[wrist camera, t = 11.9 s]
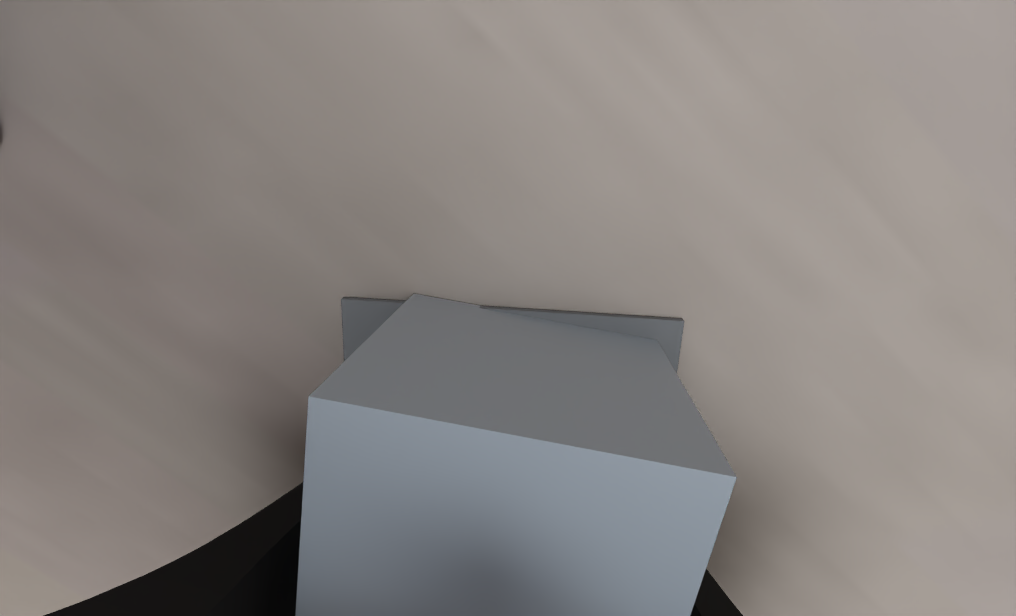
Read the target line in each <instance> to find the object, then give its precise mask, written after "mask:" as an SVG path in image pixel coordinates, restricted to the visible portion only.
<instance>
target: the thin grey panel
mask: <svg viewBox="0 0 1016 616" xmlns="http://www.w3.org/2000/svg"><path fill="white" fill-rule="evenodd" d="M404 302H405V301H400V300H385V299H369V298H354V297H343V298H342V299H341V306H342V327H343V349H344V361H345V360H346V359H347V358H348V357H349V356H350V355H351V354H352V353H353V352H354V351H355V350H356V349H357V348H358V347H359V346H361V345H362V344H363V343H364V342H365V341H366V340H367V339H368V338H369V337H370V336H371V335H372V334H373V333H374V332H375V331H376V330H377V329H378V328H379V327H380V326H381V325H382V324H383V323H384V322H385V321H386V320H387V319H388V318H389V317H390V316H391V315H392V314H393V313H394V312H395V311H396V310H397V309H398V308H399V307H400V306H401V305H402V304H403V303H404ZM479 308H482V309H488V310H493V311H499V312H504V313H510V314H515V315H521V316H526V317H532V318H537V319H543V320H548V321H554V322H559V323H565V324H570V325H576V326H581V327H587V328H592V329H598V330H603V331H609V332H614V333H620V334H625V335H631V336H636V337H642V338H647V339H653V340H657V341H658V342H659V344H660V346H661V348H662V349H663V351H664V353H665V354H666V356H667V358H668V360H669V361H670V363H671V365H672V366H673V368H674V370H675V372H676V373H677V368H678V361H679V354H680V347H681V341H682V334H683V327H684V320H683V319H681V318H665V317H650V316H634V315H619V314H603V313H588V312H572V311H556V310H541V309H525V308H510V307H494V306H480V307H479Z"/></svg>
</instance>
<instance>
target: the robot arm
mask: <svg viewBox="0 0 1016 616" xmlns="http://www.w3.org/2000/svg"><path fill="white" fill-rule="evenodd" d="M302 498H303V483H301V484H300V485H298V486H297V487H295V488H294V489H292V490H291V491H289V492H288V493H286V494H285V495H283V496H282V497H281V498H279V499H278V500H276V501H275V502H273V503H272V504H270V505H269V506H267V507H265V508H264V509H262V510H261V511H259V512H258V513H256V514H255V515H253V516H252V517H250V518H249V519H247V520H245V521H244V522H242V523H241V524H239V525H237V526H236V527H234V528H232V529H231V530H229V531H227V532H225V533H224V534H222V535H220V536H219V537H217V538H215V539H214V540H212V541H210V542H209V543H207V544H205V545H203V546H201V547H200V548H198V549H196V550H194V551H192V552H190V553H188V554H187V555H185V556H183V557H181V558H179V559H177V560H175V561H173V562H171V563H169V564H167V565H165V566H163V567H161V568H158V569H156V570H154V571H152V572H150V573H148V574H146V575H144V576H142V577H139V578H137V579H134V580H132V581H130V582H127V583H125V584H123V585H120V586H118V587H116V588H113V589H111V590H109V591H106V592H104V593H101V594H99V595H97V596H94V597H92V598H90V599H87V600H85V601H82V602H79V603H77V604H74V605H71V606H69V607H66V608H63V609H61V610H58V611H55V612H53V613H50V614H47V615H44V616H295V615H296V598H297V581H298V565H299V548H300V531H301V515H302ZM690 616H743V615H742V614H741V613H740V611H739V610H738V609H737V608H736V606H735V605H734V604H733V603H732V601H731V600H730V599H729V598H728V596H727V595H726V594H725V593H724V591H723V590H722V589H721V588H720V586H719V585H718V584H717V582H716V581H715V580H714V578H713V577H712V576H711V575H710V573H709V572H708V571H707V569H706V570H705V573H704V576H703V579H702V582H701V585H700V588H699V591H698V594H697V597H696V600H695V603H694V606H693V609H692V612H691V615H690Z"/></svg>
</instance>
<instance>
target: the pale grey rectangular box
mask: <svg viewBox="0 0 1016 616" xmlns="http://www.w3.org/2000/svg"><path fill="white" fill-rule="evenodd" d="M479 307H480V305H474V304H469V303H463V302H458V301H452V300H447V299H441V298H436V297H430V296H425V295H419V294H413V295H412V296H411V297H410V298H409V299H408V300H406V301H405V302H404V303H403V304H402V305H401V306H400V307H399V308H398V309H397V310H396V311H395V312H394V313H393V314H392V315H391V316H390V317H389V318H388V319H387V320H386V321H385V322H384V323H383V324H382V325H381V326H380V327H379V328H378V329H377V330H376V331H375V332H374V333H373V334H372V335H371V336H370V337H369V338H368V339H367V340H366V341H365V342H364V343H363V344H362V345H361V346H359V347H358V348H357V349H356V350H355V351H354V352H353V353H352V354H351V355H350V356H349V357H348V358H347V359H346V360H345V361H344V362H343V363H342V364H341V365H340V366H339V367H338V368H337V369H336V370H335V371H334V372H333V373H332V374H331V375H330V376H329V377H328V378H327V379H326V380H325V381H324V382H323V383H322V384H321V385H320V386H319V387H318V388H317V389H316V390H315V391H313V392H312V393H311V394H310V395H309V398H308V414H307V431H306V448H305V464H304V481H303V498H302V515H301V531H300V548H299V565H298V581H297V598H296V615H295V616H690V615H691V612H692V609H693V606H694V603H695V600H696V597H697V594H698V591H699V588H700V585H701V582H702V579H703V576H704V573H705V570H706V567H707V564H708V561H709V558H710V555H711V552H712V549H713V546H714V544H715V541H716V538H717V535H718V532H719V529H720V526H721V523H722V520H723V517H724V514H725V511H726V508H727V505H728V502H729V499H730V496H731V493H732V490H733V487H734V484H735V481H736V478H737V477H736V475H735V473H734V472H733V470H732V468H731V466H730V465H729V463H728V461H727V460H726V458H725V456H724V454H723V453H722V451H721V449H720V447H719V446H718V444H717V442H716V441H715V439H714V437H713V435H712V434H711V432H710V430H709V429H708V427H707V425H706V423H705V422H704V420H703V418H702V416H701V415H700V413H699V411H698V410H697V408H696V406H695V404H694V403H693V401H692V399H691V397H690V396H689V394H688V392H687V391H686V389H685V387H684V385H683V384H682V382H681V380H680V379H679V377H678V375H677V373H676V372H675V370H674V368H673V366H672V365H671V363H670V361H669V360H668V358H667V356H666V354H665V353H664V351H663V349H662V348H661V346H660V344H659V342H658V341H657V340H653V339H647V338H642V337H636V336H631V335H625V334H620V333H614V332H609V331H603V330H598V329H592V328H587V327H581V326H576V325H570V324H565V323H559V322H554V321H548V320H543V319H537V318H532V317H526V316H521V315H515V314H510V313H504V312H499V311H493V310H488V309H482V308H479Z"/></svg>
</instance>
